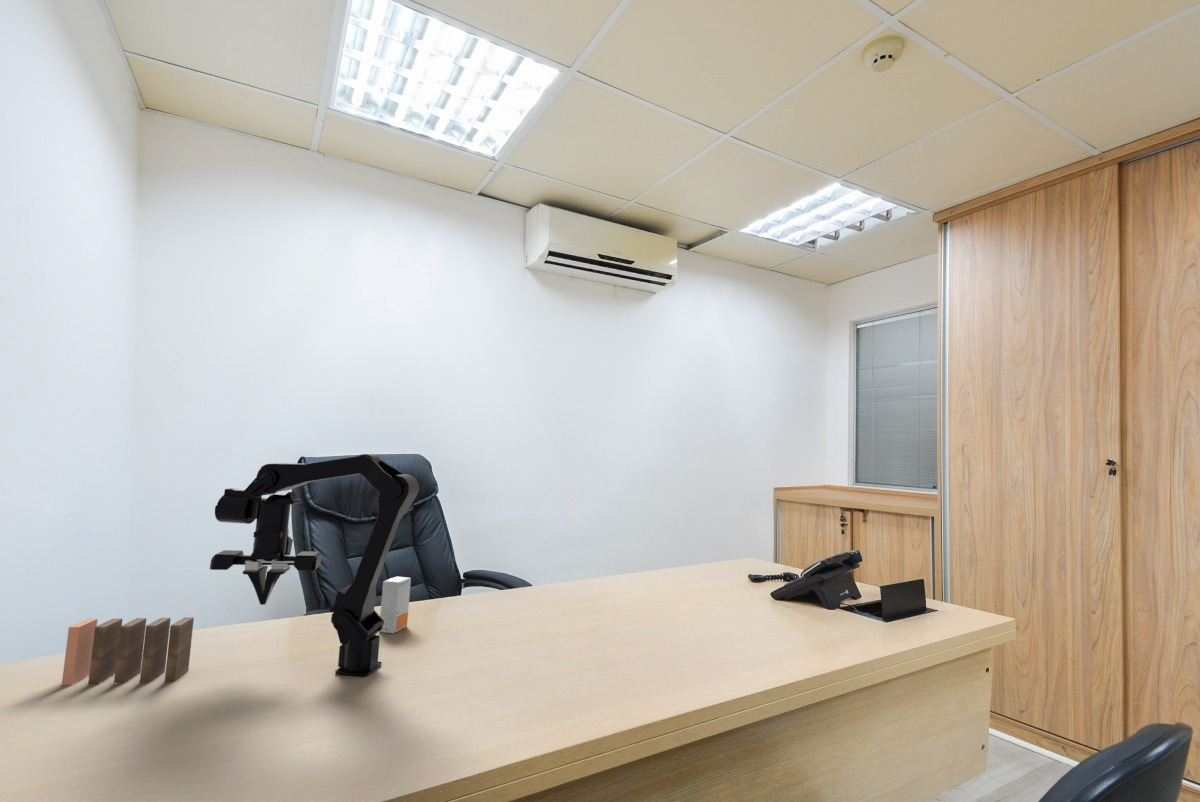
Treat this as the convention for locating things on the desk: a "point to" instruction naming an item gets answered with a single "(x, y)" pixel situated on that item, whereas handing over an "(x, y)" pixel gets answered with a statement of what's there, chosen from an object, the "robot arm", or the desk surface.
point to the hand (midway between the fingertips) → (263, 604)
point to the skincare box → (395, 603)
